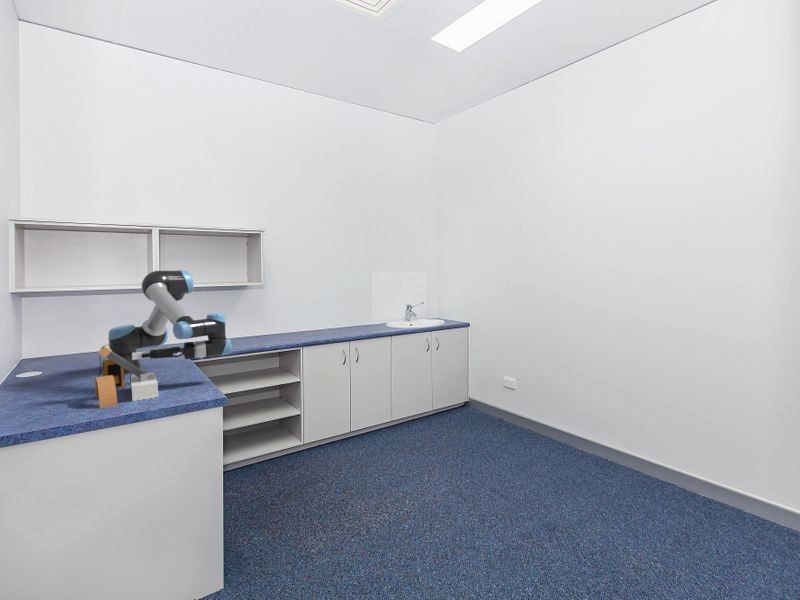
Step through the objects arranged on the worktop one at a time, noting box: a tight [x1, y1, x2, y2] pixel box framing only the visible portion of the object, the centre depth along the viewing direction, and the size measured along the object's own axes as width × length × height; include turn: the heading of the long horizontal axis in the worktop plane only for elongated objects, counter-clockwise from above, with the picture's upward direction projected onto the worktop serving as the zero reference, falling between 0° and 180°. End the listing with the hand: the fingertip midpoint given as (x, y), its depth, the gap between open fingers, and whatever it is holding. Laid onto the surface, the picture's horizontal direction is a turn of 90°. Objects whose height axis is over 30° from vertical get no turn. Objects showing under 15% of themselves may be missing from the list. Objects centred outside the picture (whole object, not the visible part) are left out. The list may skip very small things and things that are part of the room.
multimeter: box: [98, 343, 132, 389], centre depth 192 cm, size 15×10×20 cm
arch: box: [94, 375, 118, 409], centre depth 172 cm, size 6×20×10 cm, turn 38°
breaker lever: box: [97, 345, 145, 378], centre depth 178 cm, size 5×3×20 cm
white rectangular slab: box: [130, 369, 159, 402], centre depth 182 cm, size 22×9×9 cm, turn 33°
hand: (132, 356), depth 179 cm, fingers closed
